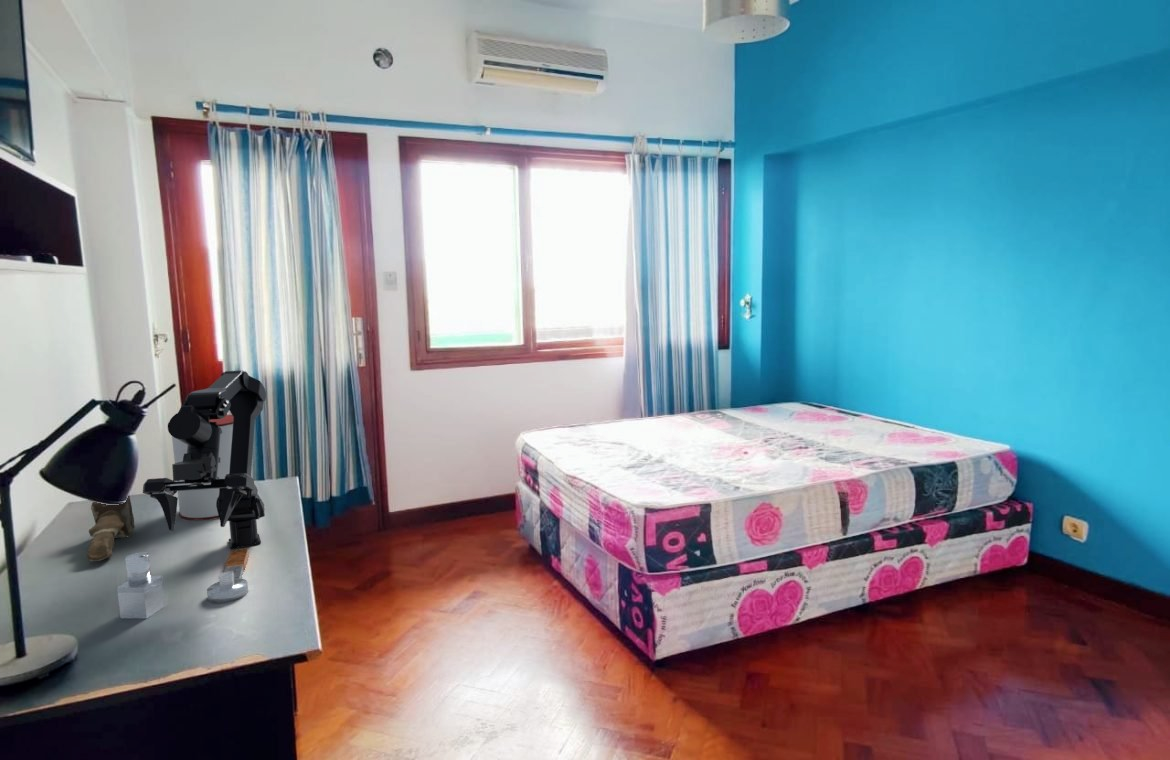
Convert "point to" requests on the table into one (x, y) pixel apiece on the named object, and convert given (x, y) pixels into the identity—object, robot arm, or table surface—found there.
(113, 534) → the brown boot
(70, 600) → the table surface
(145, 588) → the clear square perfume bottle
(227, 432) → the container
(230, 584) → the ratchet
